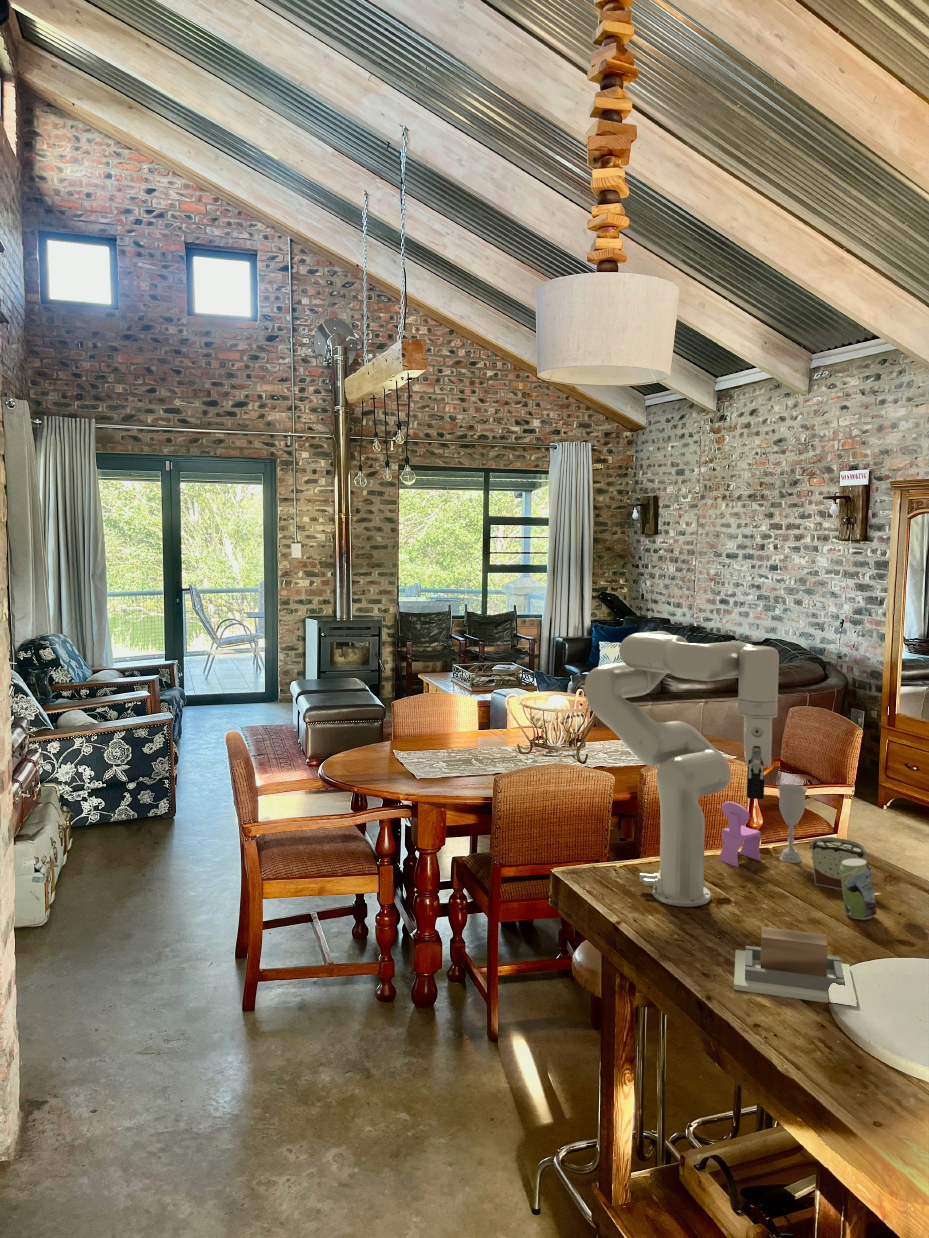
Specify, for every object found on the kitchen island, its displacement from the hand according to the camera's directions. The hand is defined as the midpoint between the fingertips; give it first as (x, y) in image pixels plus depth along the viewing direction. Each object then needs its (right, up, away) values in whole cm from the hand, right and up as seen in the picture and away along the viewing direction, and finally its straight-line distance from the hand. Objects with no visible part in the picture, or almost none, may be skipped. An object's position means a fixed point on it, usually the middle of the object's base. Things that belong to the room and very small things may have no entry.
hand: (755, 791), depth 182 cm
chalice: (+22, -25, +42) cm, 53 cm away
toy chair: (+9, -25, +41) cm, 49 cm away
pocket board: (0, -30, -20) cm, 36 cm away
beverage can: (+24, -28, +7) cm, 37 cm away
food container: (+27, -26, +25) cm, 46 cm away
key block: (0, -29, -19) cm, 35 cm away
